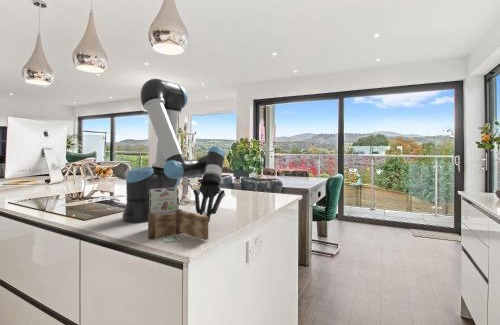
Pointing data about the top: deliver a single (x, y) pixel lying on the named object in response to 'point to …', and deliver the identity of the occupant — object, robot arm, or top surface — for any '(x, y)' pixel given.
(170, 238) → the card
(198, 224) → the fence gate
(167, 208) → the candy bar box
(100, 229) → the top surface
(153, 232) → the fence base
